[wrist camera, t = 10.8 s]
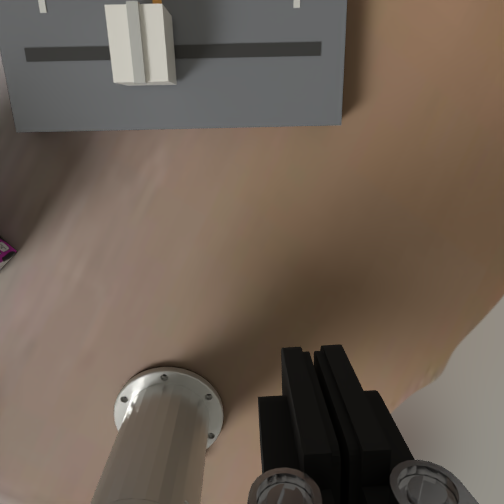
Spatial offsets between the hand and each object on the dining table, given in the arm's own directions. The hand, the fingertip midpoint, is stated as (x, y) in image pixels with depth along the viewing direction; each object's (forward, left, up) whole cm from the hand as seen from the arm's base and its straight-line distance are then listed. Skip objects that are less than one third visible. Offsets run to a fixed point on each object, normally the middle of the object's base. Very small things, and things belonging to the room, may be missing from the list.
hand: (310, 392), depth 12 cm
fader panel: (+12, +7, -31) cm, 34 cm away
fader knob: (+12, +9, -27) cm, 31 cm away
